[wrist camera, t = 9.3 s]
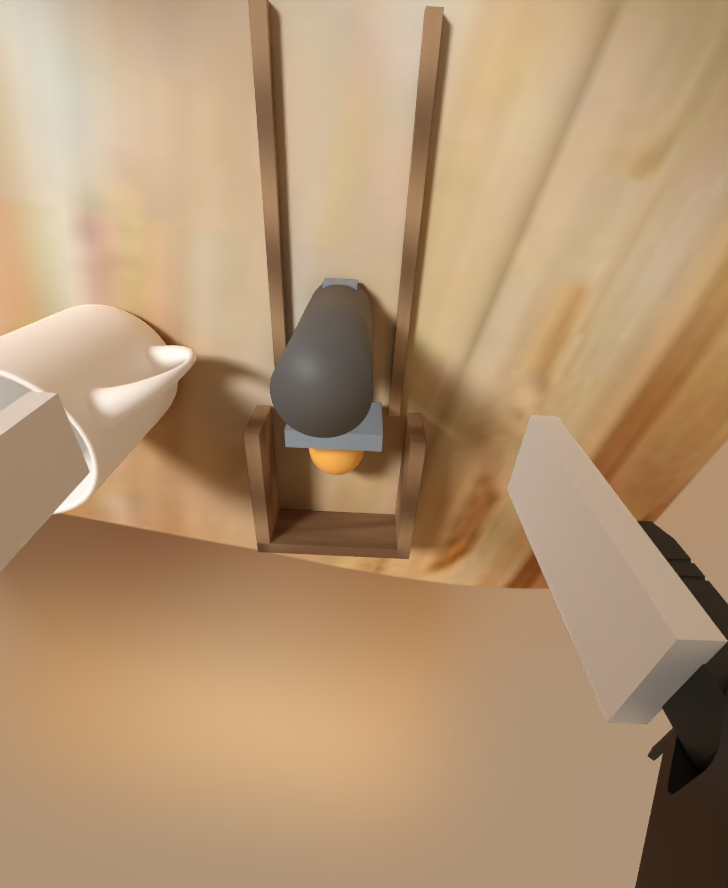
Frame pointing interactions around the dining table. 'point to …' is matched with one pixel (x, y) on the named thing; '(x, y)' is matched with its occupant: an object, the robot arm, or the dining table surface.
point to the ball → (336, 460)
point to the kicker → (330, 373)
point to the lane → (271, 187)
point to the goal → (330, 528)
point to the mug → (95, 380)
